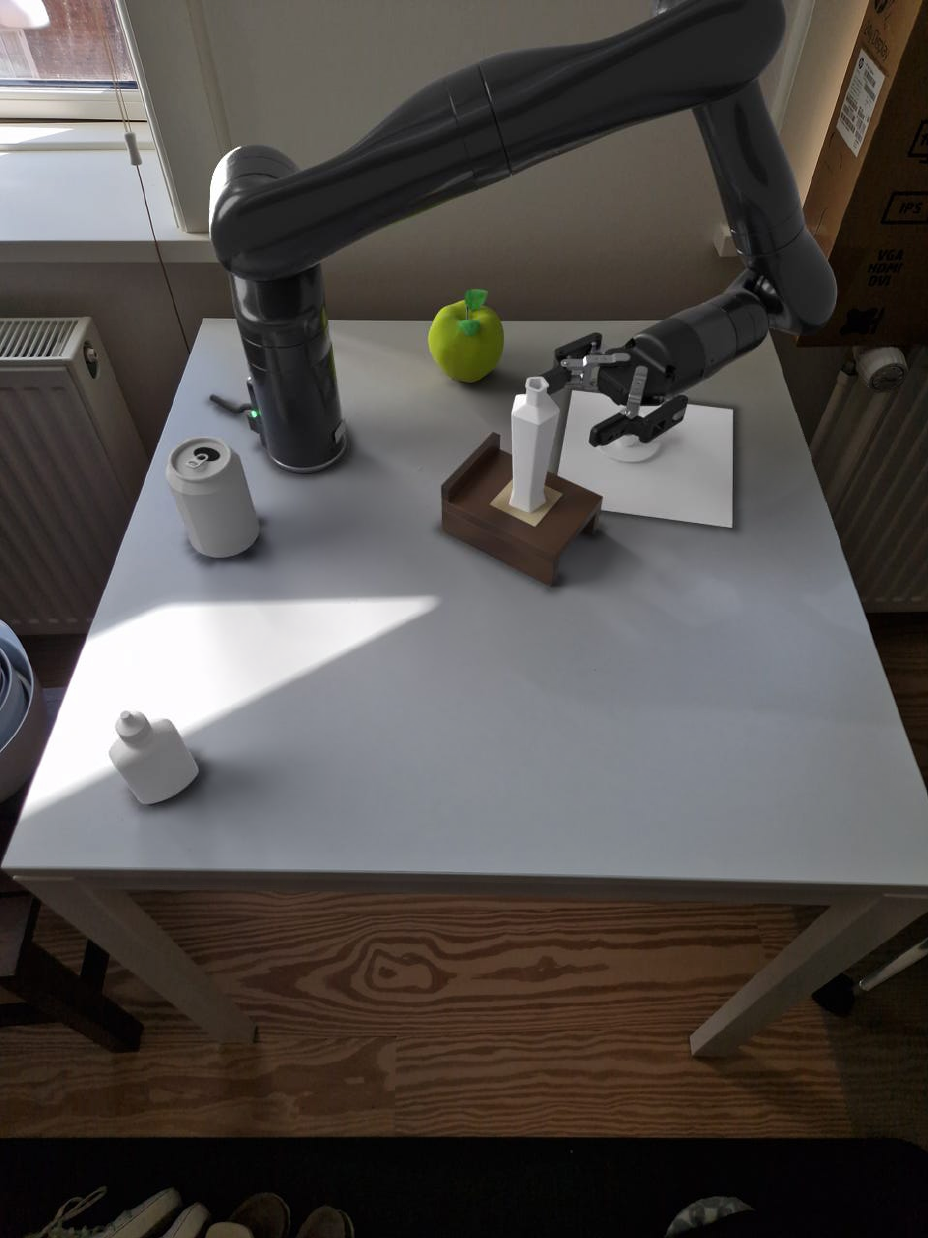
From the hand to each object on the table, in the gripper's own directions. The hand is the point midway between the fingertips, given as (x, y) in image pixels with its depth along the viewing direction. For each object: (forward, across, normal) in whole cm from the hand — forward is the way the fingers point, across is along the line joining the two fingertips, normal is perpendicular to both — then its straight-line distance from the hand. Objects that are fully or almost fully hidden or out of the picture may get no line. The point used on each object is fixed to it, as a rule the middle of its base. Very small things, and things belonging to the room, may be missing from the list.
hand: (562, 414), depth 84 cm
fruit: (-7, -26, +15) cm, 30 cm away
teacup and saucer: (-16, -1, +15) cm, 21 cm away
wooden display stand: (+4, 0, +14) cm, 15 cm away
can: (+30, -19, +15) cm, 39 cm away
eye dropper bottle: (+48, +4, +15) cm, 51 cm away
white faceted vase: (+4, 0, +10) cm, 10 cm away
